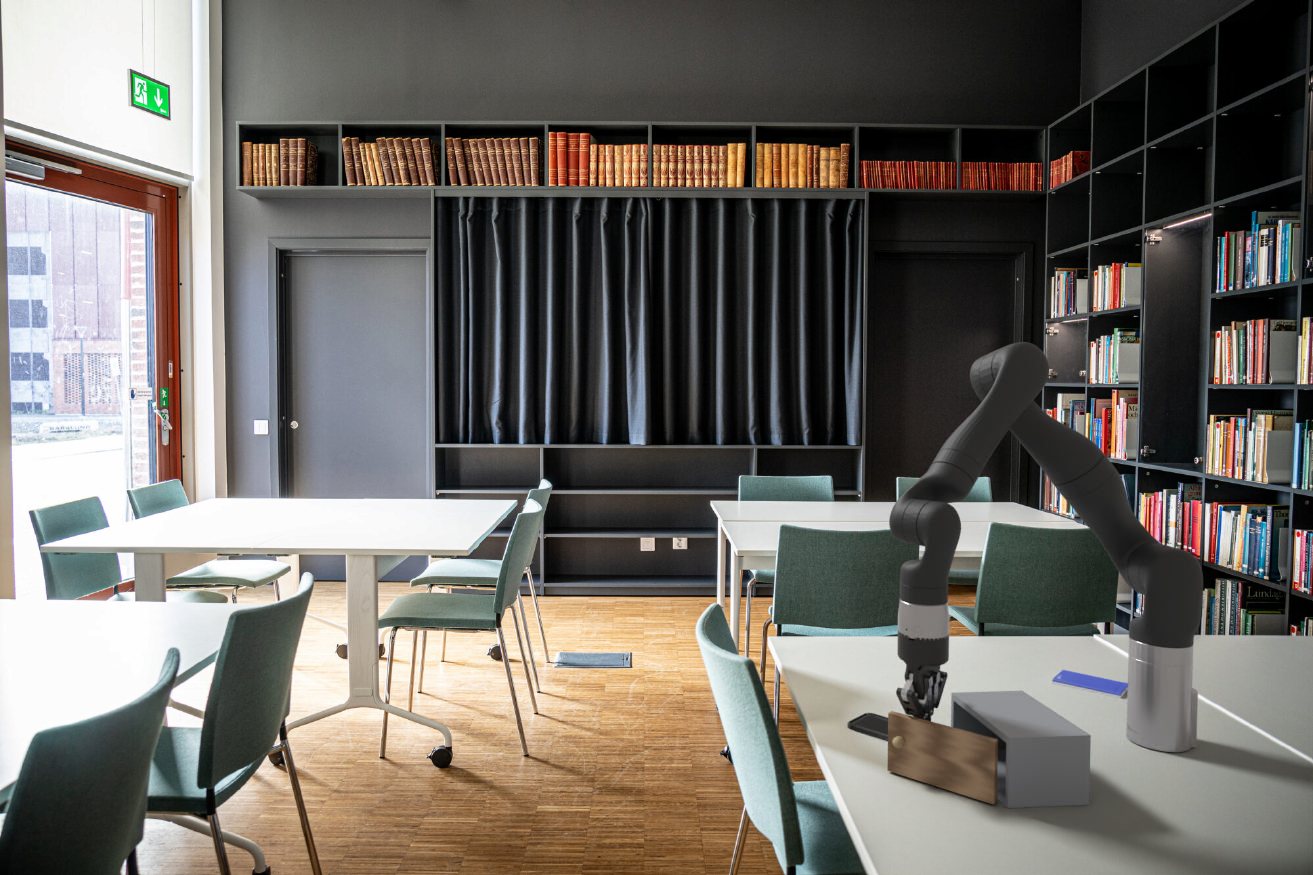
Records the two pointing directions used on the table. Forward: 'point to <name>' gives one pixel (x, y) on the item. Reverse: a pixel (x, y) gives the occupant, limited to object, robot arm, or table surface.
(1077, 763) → the storage box
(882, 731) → the phone
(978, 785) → the door
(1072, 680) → the hard drive
